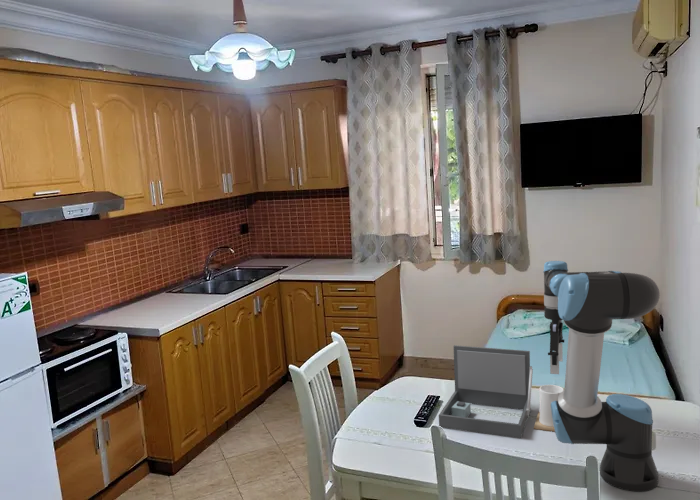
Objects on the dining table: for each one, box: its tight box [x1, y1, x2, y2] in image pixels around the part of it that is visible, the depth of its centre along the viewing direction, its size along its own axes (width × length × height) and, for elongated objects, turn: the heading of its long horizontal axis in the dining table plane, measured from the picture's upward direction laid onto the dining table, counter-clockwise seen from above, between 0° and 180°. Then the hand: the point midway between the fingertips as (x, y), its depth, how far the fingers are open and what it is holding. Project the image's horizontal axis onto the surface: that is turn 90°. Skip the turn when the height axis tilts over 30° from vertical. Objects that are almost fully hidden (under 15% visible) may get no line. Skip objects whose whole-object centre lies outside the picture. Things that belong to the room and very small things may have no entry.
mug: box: [538, 384, 564, 427], centre depth 202 cm, size 12×8×12 cm
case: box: [438, 344, 534, 439], centre depth 208 cm, size 24×29×22 cm
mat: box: [533, 411, 555, 433], centre depth 203 cm, size 14×14×1 cm
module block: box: [451, 401, 472, 418], centre depth 213 cm, size 6×5×5 cm
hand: (556, 367), depth 200 cm, fingers open, 13 cm apart
